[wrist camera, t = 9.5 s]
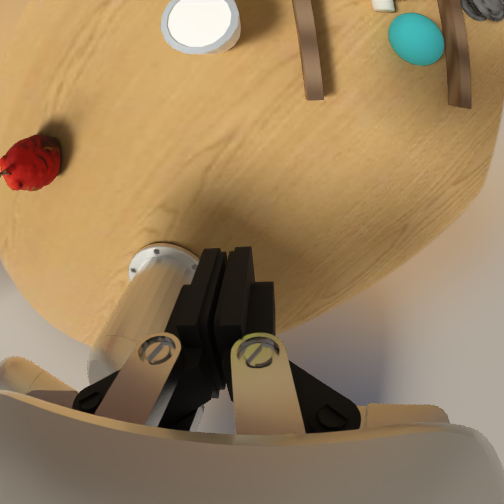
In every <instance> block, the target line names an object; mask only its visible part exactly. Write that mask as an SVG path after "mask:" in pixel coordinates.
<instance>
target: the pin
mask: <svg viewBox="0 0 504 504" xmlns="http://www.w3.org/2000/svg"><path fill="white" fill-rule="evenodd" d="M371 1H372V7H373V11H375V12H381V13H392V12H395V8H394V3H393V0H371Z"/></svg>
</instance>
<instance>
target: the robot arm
mask: <svg viewBox="0 0 504 504" xmlns="http://www.w3.org/2000/svg"><path fill="white" fill-rule="evenodd" d="M129 280H130V284H129V285H128V287H127V289H126V290H125V292H124V294H123V295H122V297H121V299H120V300H119V302H118V304H117V305H116V307H115V309H114V310H113V312H112V314H111V316H110V317H109V319H108V321H107V322H106V324H105V326H104V328H103V329H102V331H101V333H100V335H99V337H98V338H97V340H96V342H95V344H94V345H93V347H92V349H91V352H90V354H89V358H88V364H87V372H88V379H89V383H90V386H88V387H86V388H85V389H83V390H82V391H80V392H78V391H76V390H75V389H73V388H72V387H70V386H68V385H67V384H65V383H64V382H62V381H60V380H59V379H57V378H56V377H54V376H53V375H51V374H50V373H48V372H47V371H45V370H44V369H42V368H40V367H39V366H38V365H36V364H34V363H33V362H31V361H29V360H27V359H25V358H22V357H18V356H12V357H8V358H6V359H4V360H3V361H1V362H0V504H504V470H503V467H502V464H501V462H500V460H499V458H498V455H497V453H496V451H495V449H494V448H493V446H492V444H491V443H490V442H489V440H488V439H487V438H486V437H485V436H484V435H483V434H482V433H480V432H479V431H477V430H475V429H472V428H469V427H466V426H462V425H457V424H451V423H449V419H448V416H447V414H446V413H445V412H444V410H443V409H441V408H439V407H438V406H434V405H399V404H398V405H397V404H395V405H394V404H373V403H368V405H367V406H356V405H355V404H354V403H353V402H352V401H351V400H349V399H347V398H346V397H344V396H342V395H341V394H339V393H338V392H336V391H335V390H333V389H332V388H330V387H329V386H327V385H325V384H324V383H322V382H321V381H319V380H318V379H316V378H315V377H313V376H312V375H310V374H308V373H307V372H306V371H304V370H303V369H301V368H300V367H298V366H297V365H295V364H293V363H292V362H291V361H289V360H288V356H287V352H286V348H285V346H284V344H283V342H282V341H281V340H280V339H279V338H278V337H276V336H275V299H274V283H273V282H255V277H254V268H253V258H252V249H251V246H250V247H235V251H230V252H229V256H228V260H227V255H226V252H221V250H220V248H212V249H204V250H203V253H202V255H201V258H200V259H199V258H198V257H197V256H195V255H194V254H193V253H191V252H190V251H188V250H186V249H184V248H182V247H180V246H176V245H173V244H167V243H155V244H151V245H147V246H145V247H143V248H142V249H140V250H139V251H138V252H137V253H136V254H135V256H134V257H133V259H132V261H131V262H130V265H129ZM226 384H227V388H228V391H229V395H230V398H231V401H233V402H234V414H235V428H236V435H234V434H215V433H201V432H197V429H198V426H199V423H200V421H201V418H202V415H203V413H204V404H205V403H206V402H208V401H209V400H211V398H218V397H219V391H220V389H221V390H223V389H225V386H226Z"/></svg>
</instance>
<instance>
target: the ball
mask: <svg viewBox="0 0 504 504" xmlns="http://www.w3.org/2000/svg"><path fill="white" fill-rule="evenodd" d="M389 41H390V44H391V46H392V48H393V49H394V51H395V52H396V53H397V54H398V55H399V56H400V57H401V58H402V59H404V60H405V61H407V62H409V63H411V64H414V65H419V66H425V65H430V64H433V63H435V62H436V61H437V60H438V59H439V58H440V57H441V56H442V54H443V51H444V38H443V35H442V33H441V31H440V29H439V28H438V26H437V25H436V24H435V23H434V22H433V21H432V20H430V19H429V18H427V17H425V16H423V15H421V14H417V13H404V14H401V15H399V16H397V17H396V18H395V19H394V20H393V21H392V23H391V25H390V27H389Z"/></svg>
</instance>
